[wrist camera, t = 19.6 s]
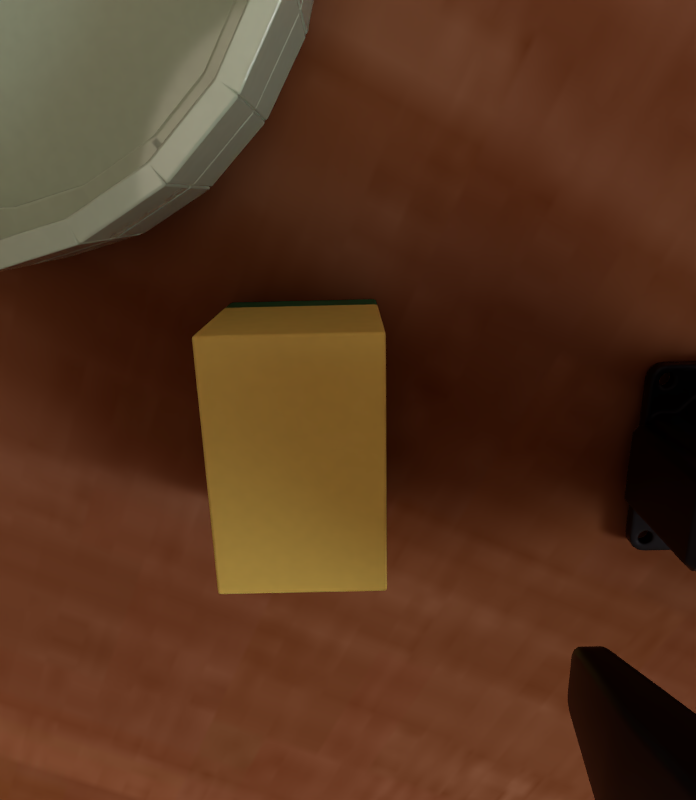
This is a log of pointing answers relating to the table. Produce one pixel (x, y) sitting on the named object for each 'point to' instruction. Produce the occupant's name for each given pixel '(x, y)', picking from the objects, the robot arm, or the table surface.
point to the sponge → (295, 445)
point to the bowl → (128, 111)
